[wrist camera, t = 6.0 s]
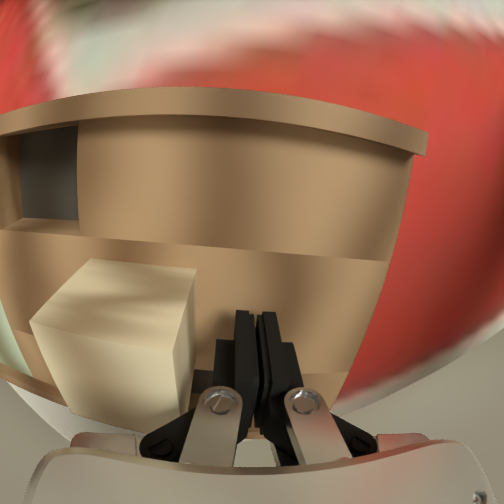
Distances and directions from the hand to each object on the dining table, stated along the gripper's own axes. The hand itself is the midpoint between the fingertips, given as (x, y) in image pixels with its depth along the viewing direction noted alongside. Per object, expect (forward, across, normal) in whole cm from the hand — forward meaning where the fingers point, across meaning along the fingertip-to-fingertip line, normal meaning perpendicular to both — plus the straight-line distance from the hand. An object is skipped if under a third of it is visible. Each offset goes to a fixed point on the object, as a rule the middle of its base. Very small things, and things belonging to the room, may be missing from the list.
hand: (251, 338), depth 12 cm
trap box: (+4, +8, 0) cm, 9 cm away
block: (+1, +5, 0) cm, 5 cm away
